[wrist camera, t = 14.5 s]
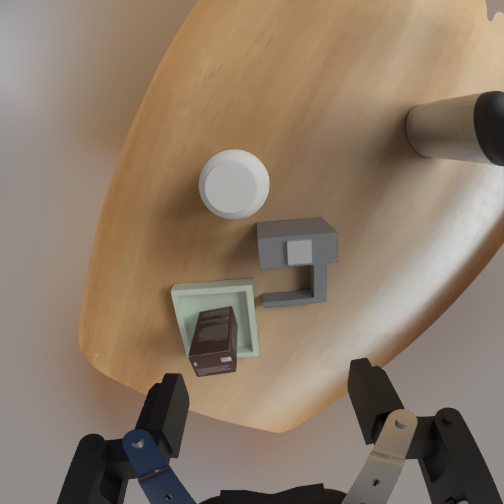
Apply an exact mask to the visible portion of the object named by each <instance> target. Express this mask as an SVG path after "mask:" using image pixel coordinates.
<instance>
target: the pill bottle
mask: <svg viewBox="0 0 504 504" xmlns="http://www.w3.org/2000/svg"><path fill="white" fill-rule="evenodd" d="M198 185H199V193H200V196H201V199H202V201H203V202H204V204H205V205H206V207H207V208H208V209H209V210H210V211H211V212H213V213H214V214H216V215H218V216H220V217H222V218H226V219H242V218H246V217H248V216H250V215H252V214H254V213H255V212H257V211H258V210H259V209H260V208H261V207H262V205H263V204H264V202H265V201H266V198H267V196H268V193H269V176H268V173H267V170H266V168H265V166H264V165H263V163H262V162H261V161H260V160H259V159H258V158H257V157H256V156H254V155H253V154H251V153H249V152H246V151H243V150H236V149H232V150H226V151H222V152H220V153H218V154H216V155H214V156H213V157H211V158H210V159H209V160H208V161H207V162H206V164H205V165H204V167H203V168H202V170H201V173H200V176H199V184H198Z"/></svg>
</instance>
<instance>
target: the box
mask: <svg viewBox="0 0 504 504" xmlns="http://www.w3.org/2000/svg"><path fill="white" fill-rule="evenodd" d="M237 334H238V324H237V321H236V317H235V314H234V311H233V307H232V306H230V307H225V308H219V309H214V310H208V311H203V312H199V316H198V320H197V324H196V327H195V331H194V335H193V339H192V343H191V347H190V350H189V354H188V358H189V360H190V362H191V364H192V366H193V369H194V371H195V373H196V375H197V377H201V376H208V375H216V374H223V373H230V372H236V362H237Z"/></svg>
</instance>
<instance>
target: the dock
mask: <svg viewBox="0 0 504 504" xmlns="http://www.w3.org/2000/svg"><path fill="white" fill-rule="evenodd" d="M257 238H258V249H259V260H260V270H261V269H272V268H283V267H294V266H305V265H310V276H311V289H309V290H299V291H289V292H278V293H267V294H263V303H264V308H270V307H281V306H291V305H301V304H311V303H320V302H326V289H327V263H336V262H338V232H337V231H336V230H335V229H333V228H332V227H331V226H330V225H329V224H328V223H327V222H326V221H325V220H324V219H323V218H321V217H320V218H306V219H293V220H281V221H269V222H257Z"/></svg>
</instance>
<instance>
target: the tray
mask: <svg viewBox="0 0 504 504" xmlns="http://www.w3.org/2000/svg"><path fill="white" fill-rule="evenodd" d="M171 295H172V300H173V304H174V308H175V313H176V317H177V321H178V325H179V329H180V333H181V337H182V341H183V344H184V348H185V352H186V355H187V359H189V358H188V354H189V350H190V347H191V343H192V339H193V335H194V331H195V327H196V324H197V320H198V316H199V312H203V311H208V310H214V309H219V308H225V307H230V306H232V307H233V311H234V314H235V317H236V321H237V324H238V334H237V357H252V356H259V342H258V332H257V322H256V313H255V303H254V293H253V283H252V278H247V279H235V280H222V281H209V282H195V283H181V284H174V285H173V287H172V289H171Z"/></svg>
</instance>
